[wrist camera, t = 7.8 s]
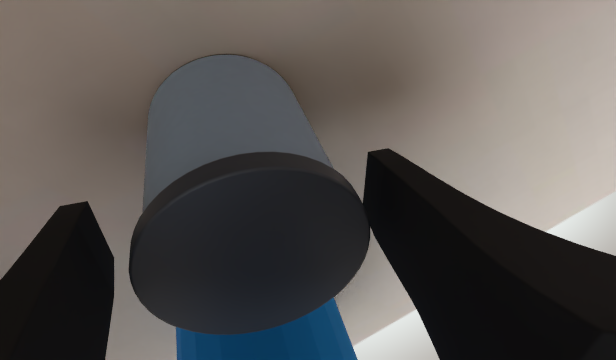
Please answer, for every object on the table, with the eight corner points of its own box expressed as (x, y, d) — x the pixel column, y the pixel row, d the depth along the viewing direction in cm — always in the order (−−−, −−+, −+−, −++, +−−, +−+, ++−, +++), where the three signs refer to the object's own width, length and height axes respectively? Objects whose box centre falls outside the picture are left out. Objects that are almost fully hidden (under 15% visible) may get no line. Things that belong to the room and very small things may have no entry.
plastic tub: (203, 210, 16) (220, 360, 11) (101, 104, 12) (64, 259, 8) (326, 143, 15) (397, 269, 11) (257, 13, 12) (318, 117, 7)
